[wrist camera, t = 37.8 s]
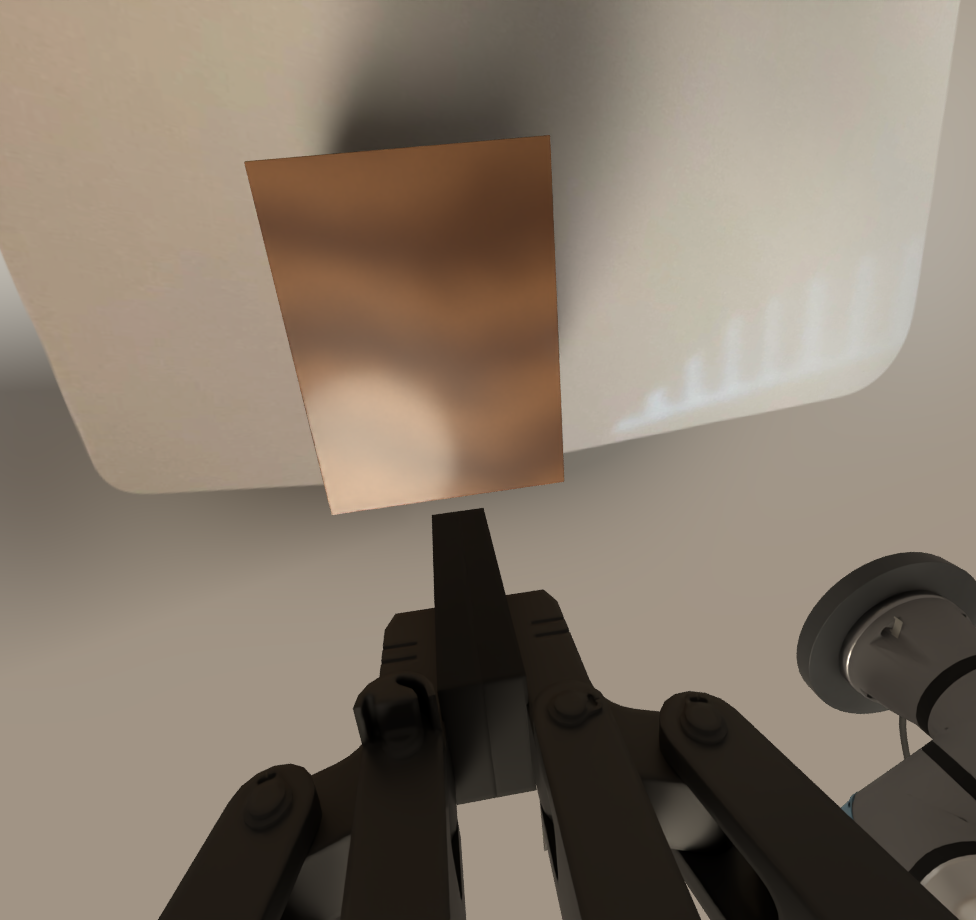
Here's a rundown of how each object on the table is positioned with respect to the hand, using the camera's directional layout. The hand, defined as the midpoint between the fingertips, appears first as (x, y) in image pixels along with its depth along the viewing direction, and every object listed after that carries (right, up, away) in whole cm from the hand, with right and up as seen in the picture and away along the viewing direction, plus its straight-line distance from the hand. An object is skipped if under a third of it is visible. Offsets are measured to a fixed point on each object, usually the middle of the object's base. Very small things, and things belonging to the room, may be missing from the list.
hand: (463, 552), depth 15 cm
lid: (-3, +9, +14) cm, 17 cm away
